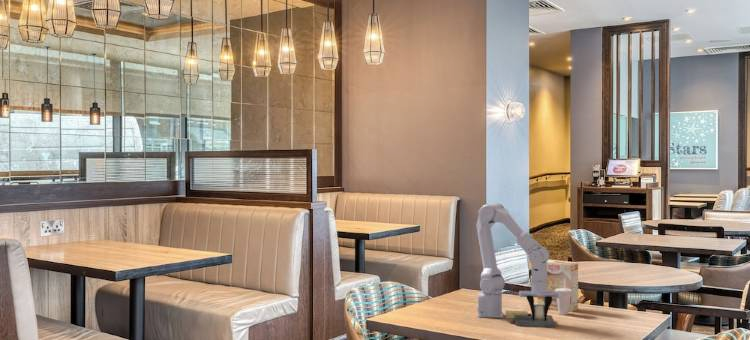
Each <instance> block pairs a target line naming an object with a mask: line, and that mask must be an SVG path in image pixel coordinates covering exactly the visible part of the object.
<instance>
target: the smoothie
mask: <svg viewBox="0 0 750 340" xmlns="http://www.w3.org/2000/svg"><path fill="white" fill-rule="evenodd" d="M555 292H559V298H557V305H558V310H557V312H558V314H559V315H562V316H566V315H569V313H570V312H569V304H570V296H571V293H572V290H571V289H566V279H564V288H557V289H555Z"/></svg>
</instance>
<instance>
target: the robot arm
mask: <svg viewBox="0 0 750 340" xmlns="http://www.w3.org/2000/svg"><path fill="white" fill-rule="evenodd" d="M477 212H478V217H477V221H476V225H475V226H476V231H477V238H478V243H479V249H480V250H479V252H480V256H481V262H482V268H483V270H482V272H481V274H480V282H479V286H480V290H481V291H482V292H478V293H477V294H478V295H477V296H478V298H477V299H478V300H477V302H478V303H477V304H478V306H477V308H476V309H477V313H478V317H479V318H499V319H500V318H501V319H503V318H504V314H503V307H502V306H503V305H502V304H503V303H502V301H503V298H502V297H503V296H502V295H503V293H502V292H503V289H504V288H505V285H506V282H505V278H504V277H503V275H502V271H501V270H500V269H499V267H498V265H497V263H498V262H497V259H496V253H495V252H496V251H495V247H494V240H493V235H492V234H493V233H492V227H494V225H495V224H496V223H500V224H503V226H505V228H507V230H509V232H511V234H513V235H514V236H515V238H516V243H517V244H518V245H519V246H520V247H521V249H522V250H523V251H524V252H525V253H526V255H528V260H529V263H530V264H531V265H530V266H531V267H530V269H531V270H530V271H531V275H530V276H531V281H530V283H531V286H530V287H531V288H530V289H531V290H519V294H518V296H519V298H525V297H526V300H527V302H528V304H529V307H530V311H531V315H532V317H534V305H535V298H538V297H544V302H545V317H547V315H548V311H549V306H550V304H551V302H552V298H559V292H551V291H547V261H548V260H550V251H549V250H548V249H547V247H544V246H542V245H541V243H538V241H537V240H536V239H535V238H534V235H533V234H532V233H529V232H525V231H524V230H523V229H522V228H521V227H520V225H519V224H518V223H517V222H516V221H515V219H514V218H513V217H512V215H510V213H509V210H508V209H507V208H505V206H504V205H503V204H502V203H499V202H497V203H490V204H488V203H487V204H484V205H482V206H481V207H480V209H479V210H478V211H477Z"/></svg>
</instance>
